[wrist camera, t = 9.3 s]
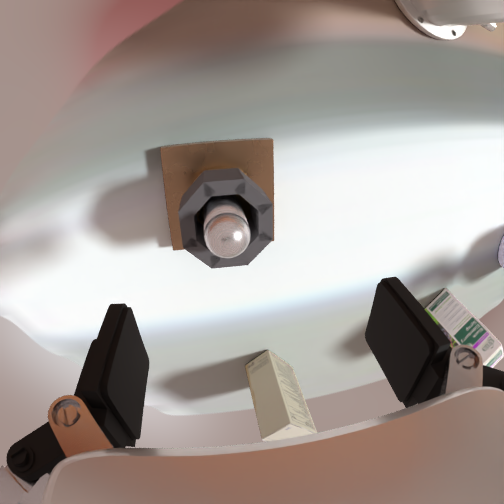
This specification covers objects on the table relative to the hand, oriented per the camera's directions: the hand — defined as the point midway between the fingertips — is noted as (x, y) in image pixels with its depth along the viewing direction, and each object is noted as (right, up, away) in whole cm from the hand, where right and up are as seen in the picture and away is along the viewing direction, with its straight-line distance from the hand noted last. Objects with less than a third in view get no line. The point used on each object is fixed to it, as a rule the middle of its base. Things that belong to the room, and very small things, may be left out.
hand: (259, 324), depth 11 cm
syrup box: (+30, -6, +31) cm, 43 cm away
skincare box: (+2, -13, +30) cm, 33 cm away
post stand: (-3, +8, +18) cm, 20 cm away
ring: (-3, +6, +14) cm, 15 cm away
